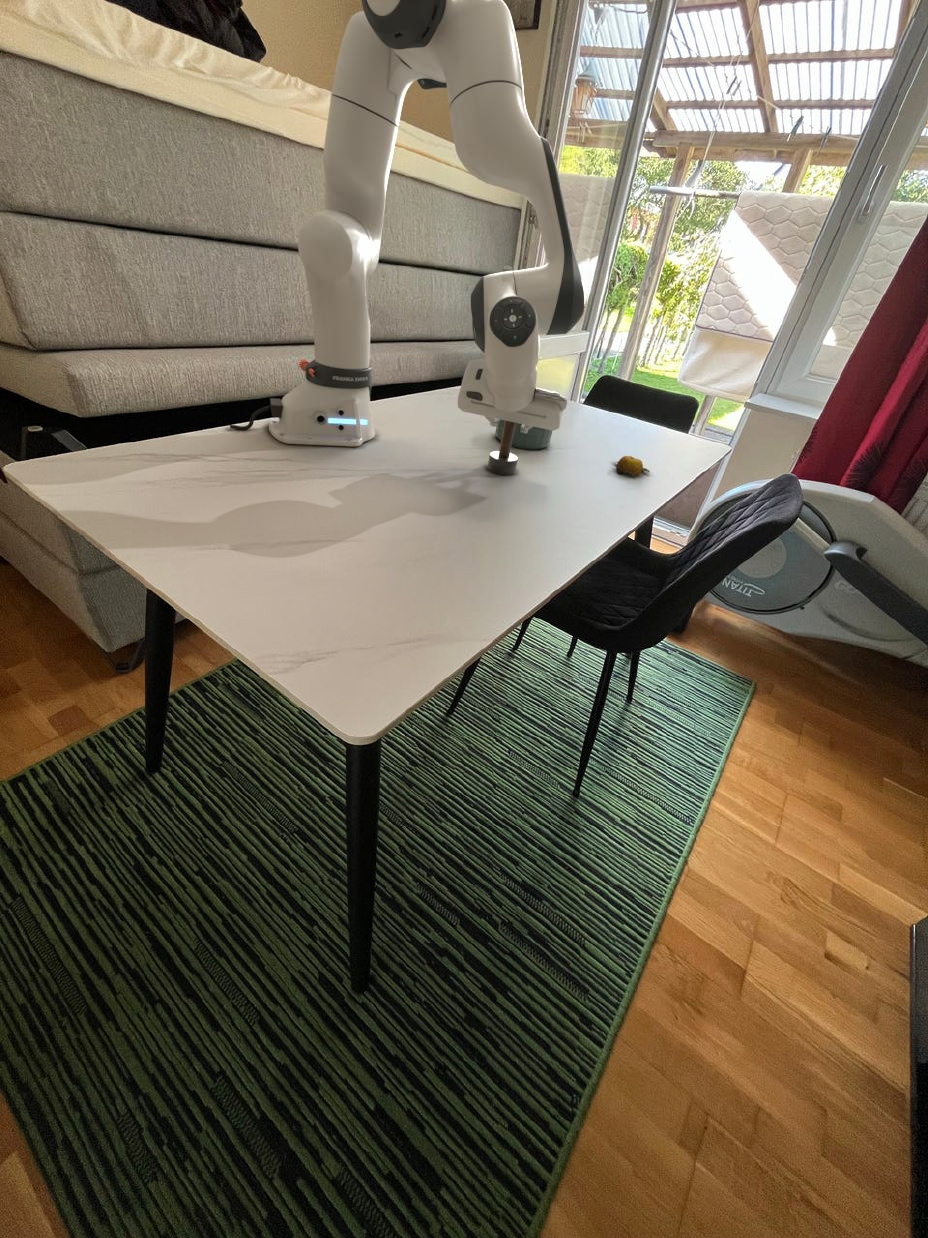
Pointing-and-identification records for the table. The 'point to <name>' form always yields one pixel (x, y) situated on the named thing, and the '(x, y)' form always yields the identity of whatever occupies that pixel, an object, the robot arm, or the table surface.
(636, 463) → the fruit
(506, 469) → the ring toss peg
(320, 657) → the table surface
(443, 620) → the table surface
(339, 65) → the robot arm
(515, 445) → the bowl
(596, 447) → the table surface
